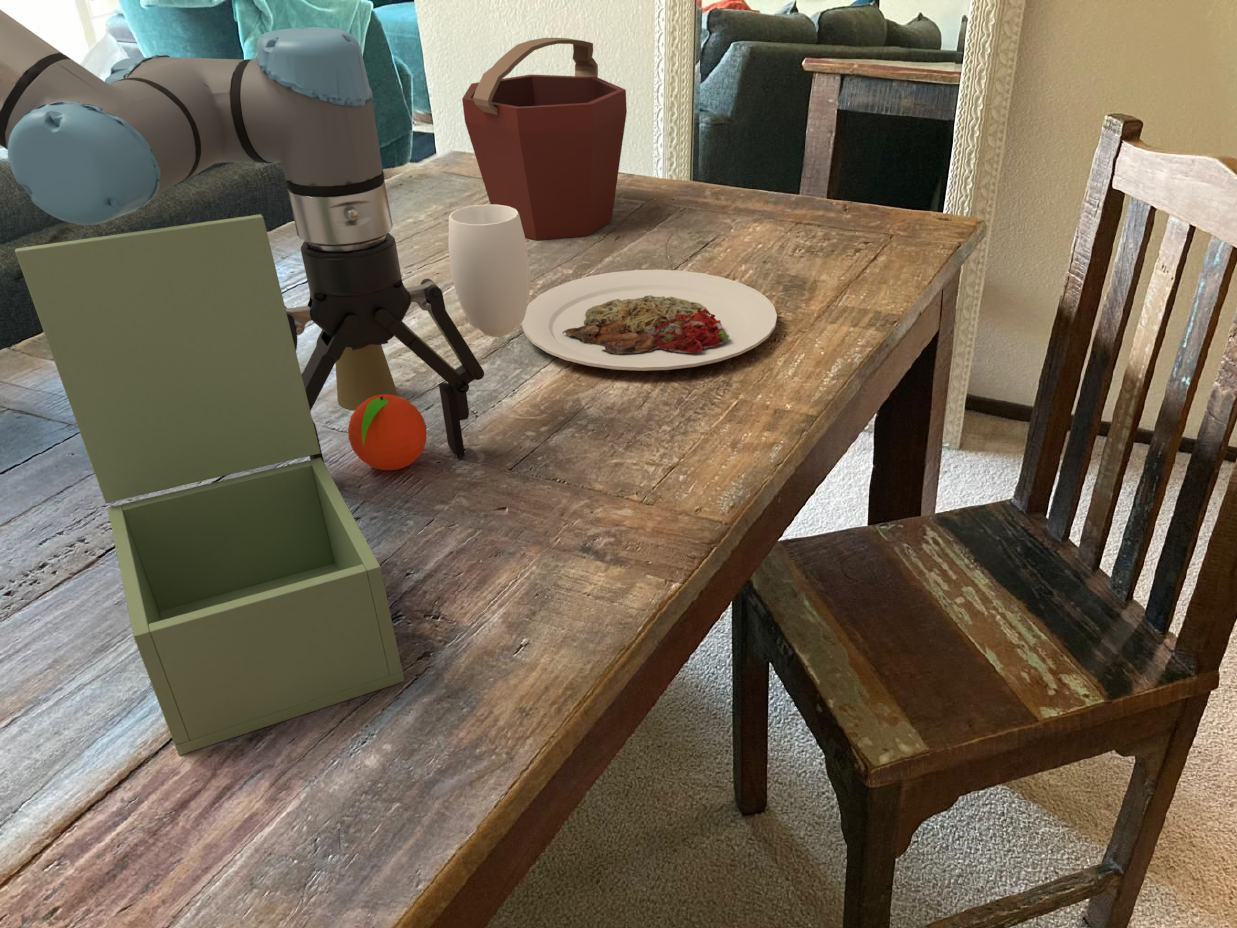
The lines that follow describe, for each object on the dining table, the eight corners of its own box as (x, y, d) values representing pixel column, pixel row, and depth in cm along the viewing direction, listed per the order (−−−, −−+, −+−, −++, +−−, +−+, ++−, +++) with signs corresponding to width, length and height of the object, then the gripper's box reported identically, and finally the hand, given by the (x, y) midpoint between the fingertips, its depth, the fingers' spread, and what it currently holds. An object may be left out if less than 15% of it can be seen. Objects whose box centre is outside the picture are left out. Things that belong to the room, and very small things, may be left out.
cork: (375, 414, 111) (354, 311, 105) (325, 404, 113) (302, 303, 107) (409, 389, 116) (391, 290, 110) (361, 381, 118) (341, 282, 111)
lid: (263, 216, 74) (260, 214, 75) (14, 251, 68) (14, 248, 69) (320, 453, 83) (318, 449, 84) (105, 503, 77) (104, 499, 77)
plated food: (570, 275, 145) (568, 250, 143) (794, 294, 140) (795, 268, 138) (482, 369, 120) (479, 340, 118) (750, 395, 115) (750, 366, 113)
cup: (545, 433, 108) (524, 225, 96) (470, 439, 107) (440, 228, 95) (544, 401, 114) (524, 201, 102) (473, 406, 113) (445, 204, 101)
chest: (404, 681, 77) (380, 566, 72) (178, 755, 71) (133, 636, 65) (345, 563, 89) (320, 457, 84) (147, 618, 83) (107, 507, 77)
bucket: (580, 191, 177) (568, 21, 163) (667, 223, 163) (663, 41, 150) (446, 222, 163) (421, 40, 149) (530, 259, 150) (510, 63, 136)
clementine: (408, 493, 98) (395, 422, 94) (336, 486, 99) (321, 416, 95) (443, 451, 105) (432, 383, 101) (375, 444, 106) (362, 377, 102)
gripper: (196, 276, 82) (263, 519, 94) (502, 227, 92) (528, 452, 104) (182, 247, 87) (247, 481, 99) (473, 204, 98) (500, 421, 110)
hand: (391, 467), depth 102 cm, fingers open, 12 cm apart
